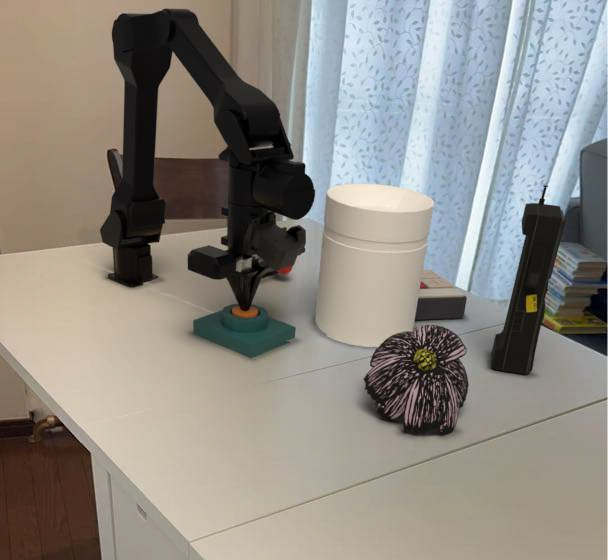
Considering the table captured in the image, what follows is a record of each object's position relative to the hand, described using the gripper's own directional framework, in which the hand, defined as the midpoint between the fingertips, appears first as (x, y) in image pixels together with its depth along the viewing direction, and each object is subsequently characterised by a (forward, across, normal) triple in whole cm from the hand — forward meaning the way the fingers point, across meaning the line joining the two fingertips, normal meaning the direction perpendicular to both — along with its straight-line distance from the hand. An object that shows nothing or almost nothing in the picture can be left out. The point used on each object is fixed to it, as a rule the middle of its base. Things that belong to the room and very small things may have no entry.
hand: (244, 310), depth 120 cm
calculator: (+4, +34, -10) cm, 36 cm away
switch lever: (+1, +23, +16) cm, 28 cm away
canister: (+4, +18, -10) cm, 21 cm away
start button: (+2, 0, 0) cm, 2 cm away
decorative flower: (+4, -1, -32) cm, 32 cm away
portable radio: (+4, +23, -34) cm, 41 cm away
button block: (+4, 0, 0) cm, 4 cm away
